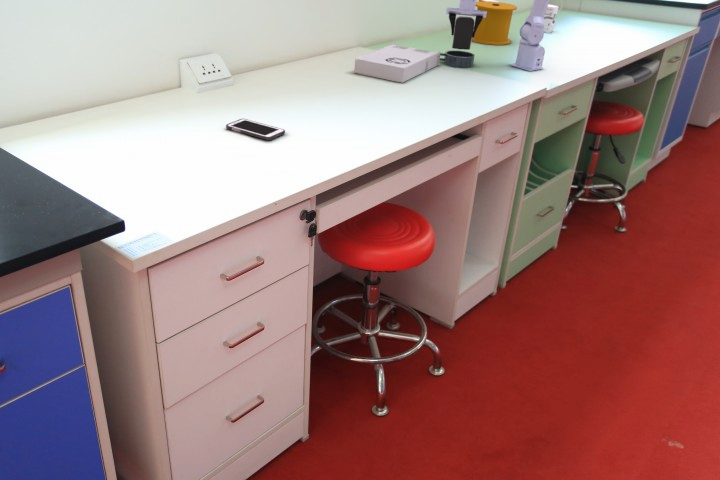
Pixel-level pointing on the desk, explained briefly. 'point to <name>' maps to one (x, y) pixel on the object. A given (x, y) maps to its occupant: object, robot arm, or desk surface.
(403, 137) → the desk surface
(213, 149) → the desk surface
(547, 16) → the ink box
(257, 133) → the cell phone
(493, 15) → the spool
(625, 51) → the desk surface
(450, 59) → the gray segmented ring
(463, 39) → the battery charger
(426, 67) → the power supply unit
